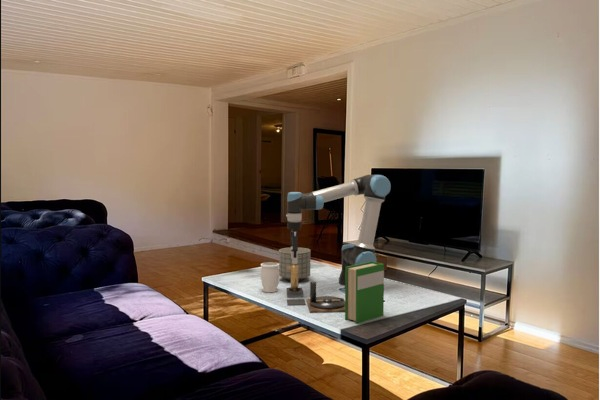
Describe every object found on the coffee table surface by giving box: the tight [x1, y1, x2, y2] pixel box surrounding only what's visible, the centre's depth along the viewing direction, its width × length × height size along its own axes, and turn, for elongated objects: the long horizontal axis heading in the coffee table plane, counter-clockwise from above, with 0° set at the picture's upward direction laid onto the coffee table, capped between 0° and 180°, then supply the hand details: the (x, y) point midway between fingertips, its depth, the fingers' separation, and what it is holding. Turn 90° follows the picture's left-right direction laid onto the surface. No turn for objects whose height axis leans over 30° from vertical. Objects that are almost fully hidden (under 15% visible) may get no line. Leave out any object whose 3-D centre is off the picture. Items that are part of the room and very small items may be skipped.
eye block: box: [285, 286, 304, 299], centre depth 238 cm, size 8×8×3 cm
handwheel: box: [309, 281, 345, 309], centre depth 219 cm, size 17×17×11 cm
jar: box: [260, 261, 280, 293], centre depth 246 cm, size 11×10×15 cm
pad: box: [286, 298, 307, 306], centre depth 225 cm, size 9×9×1 cm
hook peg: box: [287, 265, 299, 291], centre depth 237 cm, size 6×4×16 cm, turn 94°
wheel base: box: [306, 297, 345, 314], centre depth 219 cm, size 19×19×1 cm
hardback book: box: [344, 261, 385, 325], centre depth 202 cm, size 18×7×24 cm, turn 130°
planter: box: [278, 247, 311, 282], centre depth 270 cm, size 19×19×18 cm
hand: (294, 261), depth 237 cm, fingers open, 13 cm apart
